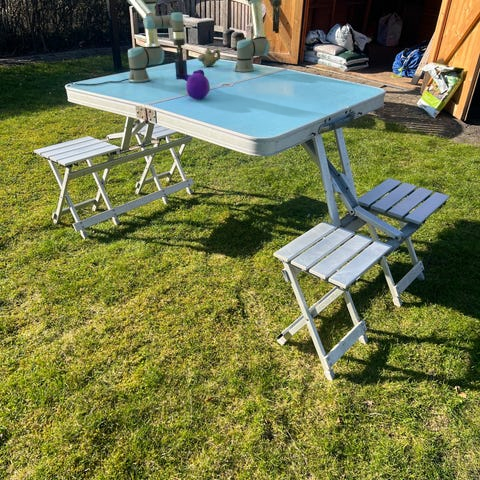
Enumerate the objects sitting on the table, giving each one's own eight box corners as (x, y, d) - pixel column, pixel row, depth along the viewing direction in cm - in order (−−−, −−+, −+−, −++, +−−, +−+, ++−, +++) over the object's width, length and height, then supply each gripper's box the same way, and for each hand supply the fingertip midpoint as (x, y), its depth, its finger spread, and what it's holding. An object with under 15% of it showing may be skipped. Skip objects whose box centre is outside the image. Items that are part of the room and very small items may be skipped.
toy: (198, 91, 303) (209, 105, 283) (173, 86, 296) (182, 100, 275) (203, 67, 295) (215, 79, 275) (177, 62, 288) (187, 74, 267)
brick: (187, 77, 312) (186, 59, 306) (187, 79, 308) (186, 60, 302) (176, 78, 312) (175, 59, 306) (176, 79, 308) (174, 60, 302)
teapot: (201, 68, 381) (200, 49, 373) (195, 66, 389) (194, 48, 382) (223, 65, 390) (222, 47, 382) (217, 64, 399) (216, 45, 391)
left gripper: (173, 37, 304) (176, 73, 316) (172, 40, 289) (175, 78, 301) (184, 36, 305) (187, 72, 317) (184, 40, 290) (186, 77, 301)
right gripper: (269, -2, 329) (268, 30, 340) (273, 0, 307) (272, 34, 318) (279, -2, 329) (278, 30, 340) (284, 0, 308) (283, 33, 318)
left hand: (181, 75), depth 309 cm, fingers closed on brick, 5 cm apart
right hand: (275, 32), depth 329 cm, fingers open, 13 cm apart
